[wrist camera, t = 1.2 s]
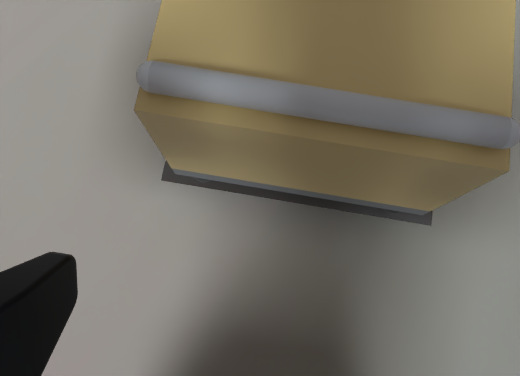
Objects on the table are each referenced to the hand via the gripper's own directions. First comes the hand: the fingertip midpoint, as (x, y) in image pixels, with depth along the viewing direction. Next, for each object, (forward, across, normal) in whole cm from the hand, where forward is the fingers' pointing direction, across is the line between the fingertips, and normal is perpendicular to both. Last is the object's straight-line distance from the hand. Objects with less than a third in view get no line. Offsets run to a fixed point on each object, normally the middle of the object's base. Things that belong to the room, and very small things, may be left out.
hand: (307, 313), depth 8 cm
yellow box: (+17, 0, +1) cm, 17 cm away
